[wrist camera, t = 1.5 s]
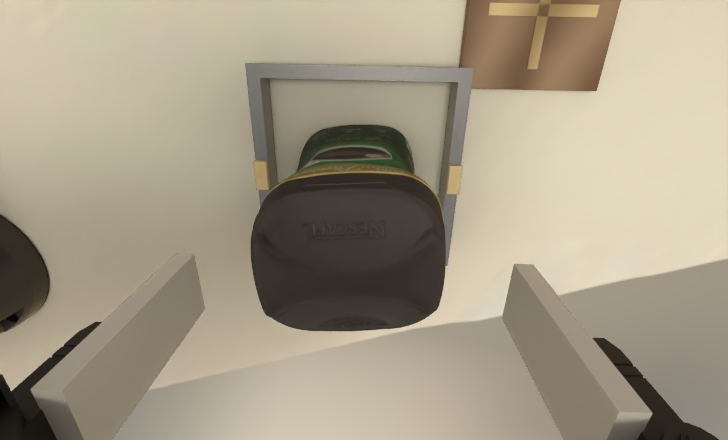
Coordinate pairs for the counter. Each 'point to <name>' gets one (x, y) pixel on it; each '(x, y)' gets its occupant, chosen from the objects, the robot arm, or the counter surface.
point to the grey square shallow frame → (457, 77)
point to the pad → (537, 43)
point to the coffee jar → (350, 236)
